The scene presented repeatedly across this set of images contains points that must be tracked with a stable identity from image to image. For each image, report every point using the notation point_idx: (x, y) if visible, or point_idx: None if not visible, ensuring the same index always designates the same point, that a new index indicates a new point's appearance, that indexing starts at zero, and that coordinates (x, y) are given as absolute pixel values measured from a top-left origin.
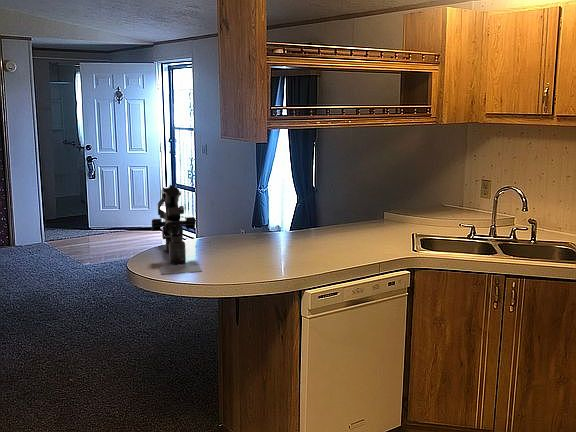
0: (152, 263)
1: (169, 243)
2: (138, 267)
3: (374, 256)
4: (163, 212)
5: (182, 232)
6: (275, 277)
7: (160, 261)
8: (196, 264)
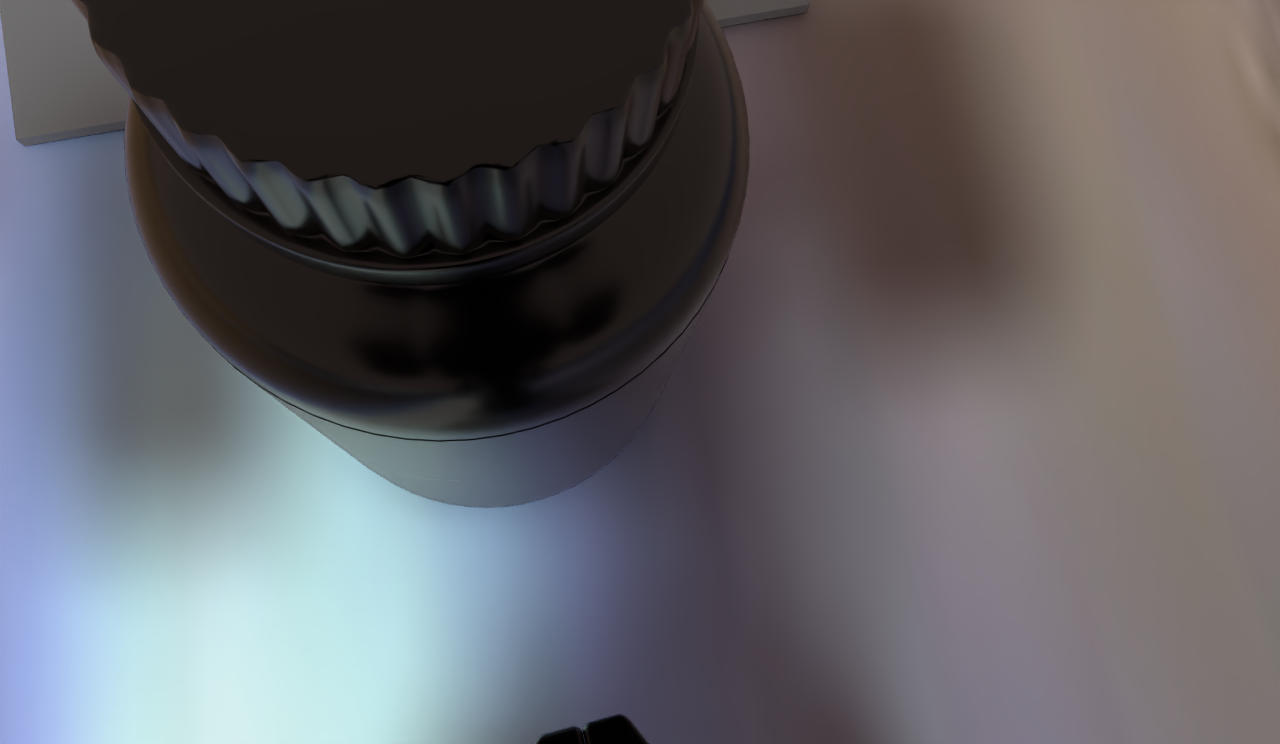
0: (1014, 334)
1: (726, 45)
2: (1186, 60)
3: None
4: None
5: None
6: None
7: (890, 497)
8: (59, 126)
